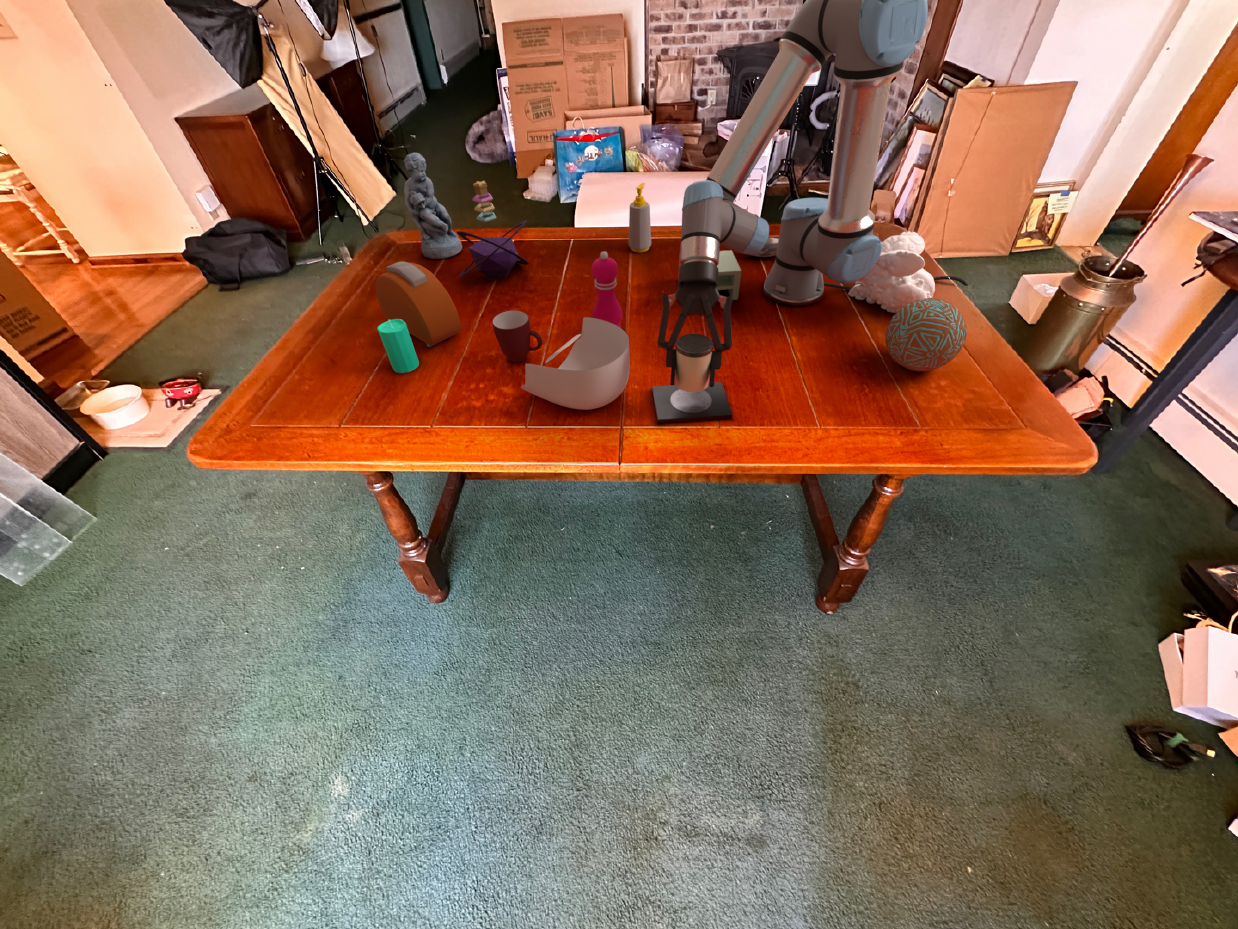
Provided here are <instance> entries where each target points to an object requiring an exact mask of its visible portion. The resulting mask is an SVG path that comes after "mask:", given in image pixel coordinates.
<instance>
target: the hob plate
mask: <svg viewBox="0 0 1238 929" xmlns="http://www.w3.org/2000/svg"><path fill="white" fill-rule="evenodd" d="M651 395H652V400H653V401H652V402H653V406H654V411H655V417H656V423H657V425H667V424H681V423H696V422H708V421H709V422H711V421H725V420H726V421H727V420H732V419H733V412H732V409H731V405H730V403H729V400H728V397H727V393H726V390H725V388H724V384H723V381H716V382H715V381H714V386H713V387H709V385H708V387H707V388H706V389H704V390H702V391H699V392H686V391H683V390H681V389H679V388H678V387H677V386H676V385H675V384H674V385H671V384H670V385H657V386H656V385H655V386H651Z"/></svg>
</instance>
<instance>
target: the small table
mask: <svg viewBox="0 0 1238 929" xmlns="http://www.w3.org/2000/svg"><path fill="white" fill-rule="evenodd" d="M678 257H679V258H678V269H679V268H680V267H681V265H680V255H679V256H678ZM717 267H718V285H717V289H718V291H722V290H724V291H725V290H726V291H727V292H728V294H729V296H731V297H733V301H738V300H739V294H740V286H741V279H742V269H741V266H740V265H739V263H738V261H737V259H736V256H735V254H734V252H733V250H732V249H729V250H719V264H718V265H717ZM677 279H678V280H677V281H678V282H679V278H677ZM678 282H677V283H678Z"/></svg>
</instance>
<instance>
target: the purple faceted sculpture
mask: <svg viewBox="0 0 1238 929" xmlns="http://www.w3.org/2000/svg"><path fill="white" fill-rule="evenodd" d="M472 185H473V188H474V192H475V195H474V196H473V197H472V199H471V201H472V202H475V203H478V204H477V205H476V206H475V207H474V209H473V210H474V211H476V212H478V213H480V214H478V215H477V217H476V218H475V219H476V220H477V221H480V222H482V223H489V222H492V221H495V220H496V219H497V216H496V214H495V213H494V212H493V211H494V210H495V208H496V207H495V206H494V204H493V203H492V201H493V200H494V198H493V196H492V194H490V192H488V185H487V182H486V180H482V181H480V180H479V181H478V180H477V181H476V182H474V183H473V184H472ZM527 222H528V219H525V220H522V221H521V222H518V223H517V224H516V225H514V226H513V227H512V228H510V229H509V230H508V231H507V232H506V233H504V234H503V235H502V236H499V237H498V236H497V237H496V236H495V237H491V236H485V237H481V236H478V235H475V234H473V233H470V232H466V231H462V230H458V231H456V234H457V236H458V237H460V238H462V239H463V240H465V241H467V242H468V243H470V244H472V245H471V246H469V247H468V250H469V253H470V256H471V258H472V259H473V260H472V261H471V262H470V263H469V264H468V265H467V266H466V267H465V268H464V269H463V270H462V272H460V274H459V275H458V276H459V278H462V277H465V276H466V275H467V274H469V273H471V272H472V271H473V270H475V269H476V268H477V270H478V272H479V273H481V274H482V275H483V276H484V277H486V278H487V279H488V280H504V279H506V277H507V276H508V275H509V274H510V273H511V272H512V270H513V268H514V267H515V265H516V264H519V265H524V266H527V265H529V264H530V263H529V261H527V259H525V258H524V257H522V256H521V255H519V253H518V251H517V249H516V246H515V243H514V241H513V237H514V236H515V235H516V234H517V233H519V232H520V230H521V229H523V228H524V226H525V225H526V224H527ZM518 227H519V228H518ZM516 229H517V230H516ZM481 230H482V231H484V230H485V229H482V228H481ZM514 230H515V231H514ZM512 231H514V232H513V233H512V234H511V235H510V237H505V236H507V235H509V234H510V233H511V232H512ZM468 237H471V238H474V239H477V240H478V241H477V242H475V241H473V240H472V239H470V238H468ZM473 264H474V266H473V267H472V268H470V267H471V266H472V265H473ZM468 269H469V270H468Z"/></svg>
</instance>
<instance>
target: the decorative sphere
mask: <svg viewBox="0 0 1238 929" xmlns="http://www.w3.org/2000/svg"><path fill="white" fill-rule="evenodd" d="M967 326H968V325H967V322H966V319H965V317H964V315H963V313H962V312H961V310H959V308H958V307H957V306H956V305H954V304H953V303H951V302H949V301H947V300H945V299H941V298H935V297H933V298H925V299H919V300H916V301H913V302H911V303H909V304H907V305H905V306H904V307H902V308H901V309H900V310H899V311H898V312H897V313H894V314H893V316H892V318H891V319H890V320H889V323H888V325H887V328H886V330H885V346H886V349H887V352H888V354H889V356H890V357H891V358H892V359H893V361H894V362H895V363H896V364H898V365H899V366H902V367H903V368H905V369H907V370H910V371H913V372H914V371H915V372H929V371H934V370H937V369H940V368H942V367H943V366H945V365H947V364H949V363H950V362H952V361H953V360H954V359H955V358H956V357H957V356H958V355H959V354H960V352H961V351H962V349H963V347H964V345H965V343H966V339H967V335H968V328H967Z"/></svg>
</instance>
